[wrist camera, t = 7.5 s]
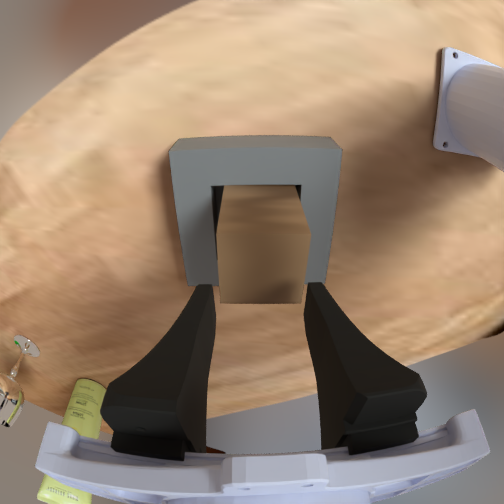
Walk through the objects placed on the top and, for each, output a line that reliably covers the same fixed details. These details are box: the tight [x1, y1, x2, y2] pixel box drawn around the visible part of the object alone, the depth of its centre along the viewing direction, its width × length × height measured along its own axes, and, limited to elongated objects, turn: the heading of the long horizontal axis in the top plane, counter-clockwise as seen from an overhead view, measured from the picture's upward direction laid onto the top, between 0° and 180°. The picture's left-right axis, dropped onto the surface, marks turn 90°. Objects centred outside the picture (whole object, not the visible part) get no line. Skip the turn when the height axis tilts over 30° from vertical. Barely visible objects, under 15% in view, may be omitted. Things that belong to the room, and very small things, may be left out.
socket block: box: [169, 135, 342, 286], centre depth 21 cm, size 10×10×3 cm
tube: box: [37, 379, 106, 504], centre depth 29 cm, size 6×5×20 cm
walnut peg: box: [216, 185, 311, 304], centre depth 18 cm, size 4×4×8 cm
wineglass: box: [0, 335, 40, 427], centre depth 28 cm, size 6×6×12 cm
